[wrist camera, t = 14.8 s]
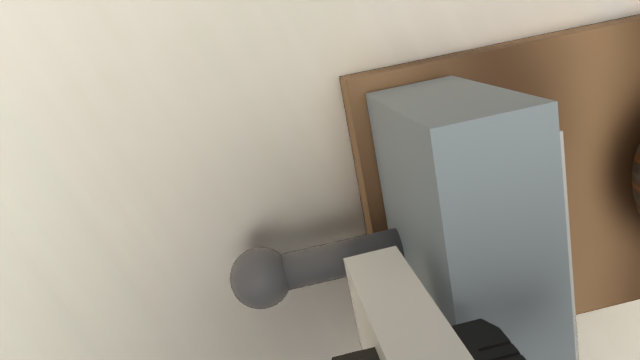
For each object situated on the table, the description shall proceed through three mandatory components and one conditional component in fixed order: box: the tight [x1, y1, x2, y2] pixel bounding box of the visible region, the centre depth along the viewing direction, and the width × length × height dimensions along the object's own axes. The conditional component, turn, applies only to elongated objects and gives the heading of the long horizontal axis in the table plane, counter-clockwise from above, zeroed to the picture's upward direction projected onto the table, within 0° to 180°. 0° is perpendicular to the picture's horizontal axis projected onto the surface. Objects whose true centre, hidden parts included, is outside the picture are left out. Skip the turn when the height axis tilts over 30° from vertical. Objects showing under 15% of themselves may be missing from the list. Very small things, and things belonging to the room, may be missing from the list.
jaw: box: [230, 75, 579, 360], centre depth 17 cm, size 9×10×7 cm
